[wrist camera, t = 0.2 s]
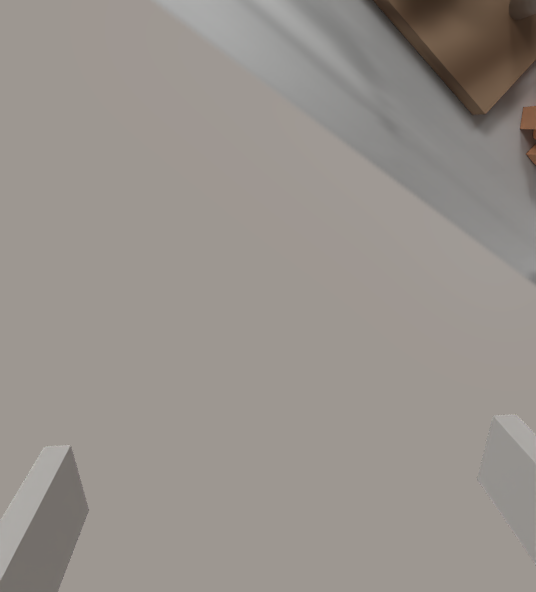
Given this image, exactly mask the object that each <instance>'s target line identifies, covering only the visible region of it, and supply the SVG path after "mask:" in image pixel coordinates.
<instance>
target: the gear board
mask: <svg viewBox="0 0 536 592" xmlns="http://www.w3.org/2000/svg"><path fill="white" fill-rule="evenodd" d="M373 1H374V2H375V3H376V4H377V6H378V7H379V8H380V9H381V10H382V11H383V12H384V14H385V15H386V16H387V17H388V18H389V19H390V20H391V22H392V23H393V24H394V25H395V26H396V27H397V29H398V30H399V31H400V32H401V33H402V34H403V35H404V37H405V38H406V39H407V40H408V41H409V42H410V43H411V45H412V46H413V47H414V48H415V49H416V50H417V52H418V53H419V54H420V55H421V56H422V57H423V58H424V60H425V61H426V62H427V63H428V64H429V65H430V66H431V68H432V69H433V70H434V71H435V72H436V73H437V74H438V76H439V77H440V78H441V79H442V80H443V81H444V83H445V84H446V85H447V86H448V87H449V88H450V89H451V91H452V92H453V93H454V94H455V95H456V96H457V97H458V99H459V100H460V101H461V102H462V103H463V104H464V106H465V107H466V108H467V109H468V110H469V111H470V112H471V114H472V115H479V114H486V113H487V112H488V111H489V110H490V109H491V108H492V107H493V106H494V105H495V103H496V102H497V101H498V100H499V99H500V98H501V97H502V96H503V95H504V94H505V93H506V92H507V90H508V89H509V88H510V87H511V86H512V85H513V84H514V83H515V82H516V81H517V80H518V78H519V77H520V76H521V75H522V74H523V73H524V72H525V71H526V70H527V69H528V68H529V67H530V65H531V64H532V63H533V62H534V61H535V60H536V0H373Z"/></svg>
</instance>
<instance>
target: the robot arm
mask: <svg viewBox="0 0 536 592" xmlns="http://www.w3.org/2000/svg"><path fill="white" fill-rule="evenodd" d="M477 480H478V482H479V483H480V485H481V486H482V488H483V489H484V491H485V492H486V494H487V495H488V496H489V498H490V499H491V500H492V502H493V504H494V505H495V506H496V508H497V510H498V511H499V512H500V514H501V515H502V517H503V518H504V520H505V521H506V523H507V524H508V526H509V527H510V529H511V530H512V531H513V533H514V534H515V536H516V537H517V539H518V540H519V542H520V543H521V545H522V546H523V547H524V549H525V550H526V552H527V553H528V555H529V556H530V557H531V559H532V561H533V562H534V564H535V565H536V434H535V433H534V432H533V431H532V430H531V429H530V428H529V427H528V426H527V425H526V424H525V423H524V422H523V421H522V420H521V419H520V418H519V417H518V416H517V415H516V414H512V415H498V416H493V418H492V422H491V426H490V430H489V434H488V438H487V442H486V446H485V450H484V454H483V458H482V462H481V466H480V470H479V474H478V478H477ZM88 511H89V509H88V505H87V502H86V498H85V494H84V491H83V487H82V484H81V480H80V476H79V473H78V469H77V465H76V462H75V458H74V455H73V451H72V447H71V445H62V446H47V447H44V448H43V450H42V452H41V453H40V455H39V457H38V458H37V460H36V462H35V463H34V465H33V467H32V468H31V470H30V472H29V473H28V475H27V477H26V478H25V480H24V482H23V484H22V485H21V487H20V489H19V490H18V492H17V494H16V495H15V497H14V498H13V500H12V502H11V504H10V505H9V507H8V508H7V510H6V512H5V513H4V515H3V517H2V519H1V520H0V592H58V589H59V587H60V584H61V581H62V579H63V577H64V573H65V571H66V569H67V566H68V563H69V561H70V558H71V555H72V553H73V550H74V548H75V545H76V542H77V540H78V537H79V535H80V532H81V529H82V527H83V524H84V522H85V519H86V516H87V514H88Z"/></svg>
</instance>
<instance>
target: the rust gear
mask: <svg viewBox="0 0 536 592" xmlns="http://www.w3.org/2000/svg"><path fill="white" fill-rule="evenodd" d="M520 129H534V131H533V138H534V139H535V140H536V106H531V107H523V113H522V120H521V127H520ZM526 155H527V156H528V157H529V158H530V159H531V160H532V162H533V163H534V164H535V165H536V144H535V145H534V146H533V147H532V148H531V149H530V150H529V151H528V152H527V153H526Z"/></svg>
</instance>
